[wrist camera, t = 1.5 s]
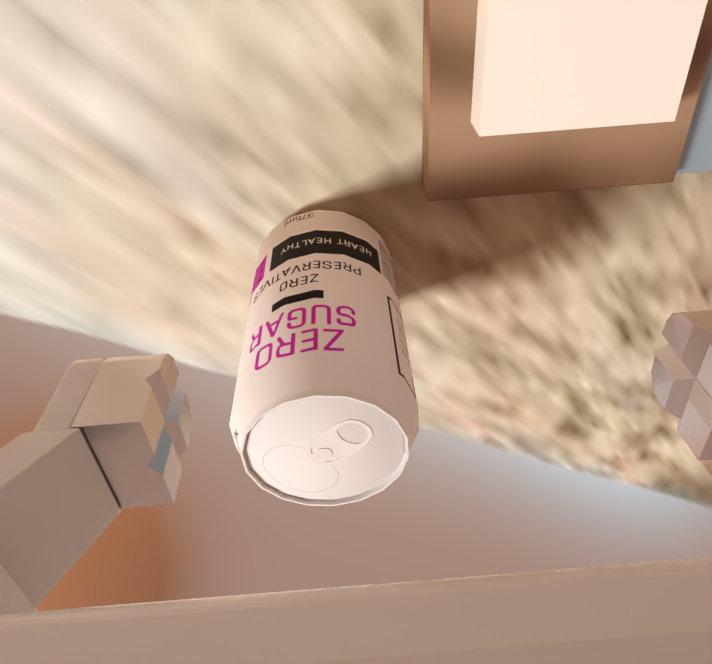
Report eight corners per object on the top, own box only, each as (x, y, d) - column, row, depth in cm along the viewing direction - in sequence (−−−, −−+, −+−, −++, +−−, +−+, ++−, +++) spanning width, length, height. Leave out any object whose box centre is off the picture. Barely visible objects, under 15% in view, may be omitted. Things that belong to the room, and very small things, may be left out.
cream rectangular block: (479, -21, 25) (489, -14, 23) (691, -38, 25) (716, -32, 23) (470, 121, 28) (479, 136, 27) (654, 107, 28) (674, 121, 27)
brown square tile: (424, -137, 24) (433, -139, 22) (737, -162, 24) (774, -166, 22) (422, 181, 33) (428, 201, 31) (652, 163, 33) (673, 182, 31)
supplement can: (327, 338, 39) (329, 535, 28) (230, 266, 36) (184, 459, 24) (417, 264, 36) (463, 451, 24) (320, 176, 32) (319, 348, 21)
